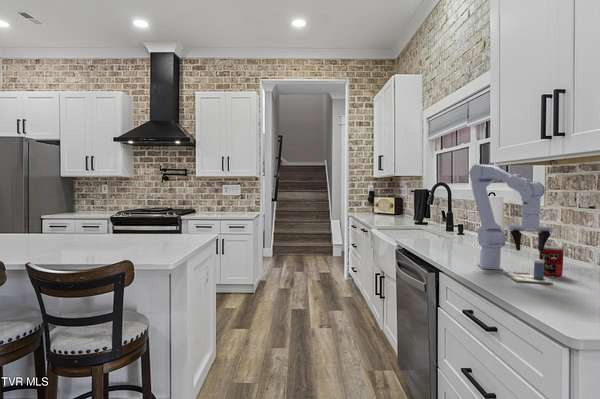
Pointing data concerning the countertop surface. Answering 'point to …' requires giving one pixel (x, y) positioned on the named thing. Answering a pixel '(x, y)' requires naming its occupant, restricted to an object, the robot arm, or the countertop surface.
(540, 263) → the blue-grey cylinder
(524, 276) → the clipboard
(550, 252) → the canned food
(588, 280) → the countertop surface
